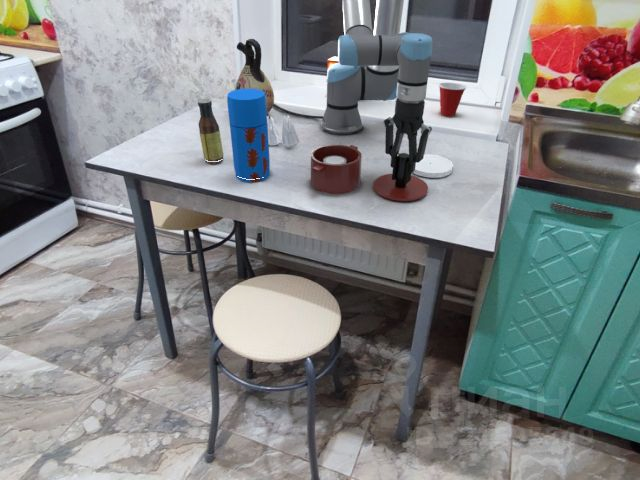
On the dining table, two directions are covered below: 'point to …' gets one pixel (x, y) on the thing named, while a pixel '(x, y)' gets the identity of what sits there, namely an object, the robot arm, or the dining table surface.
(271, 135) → the shaker set
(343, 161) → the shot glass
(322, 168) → the pot
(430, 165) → the plastic lid
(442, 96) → the plastic cup
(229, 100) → the thermos
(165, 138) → the dining table surface
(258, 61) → the ceramic jug
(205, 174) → the dining table surface
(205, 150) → the sauce bottle
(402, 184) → the lid
